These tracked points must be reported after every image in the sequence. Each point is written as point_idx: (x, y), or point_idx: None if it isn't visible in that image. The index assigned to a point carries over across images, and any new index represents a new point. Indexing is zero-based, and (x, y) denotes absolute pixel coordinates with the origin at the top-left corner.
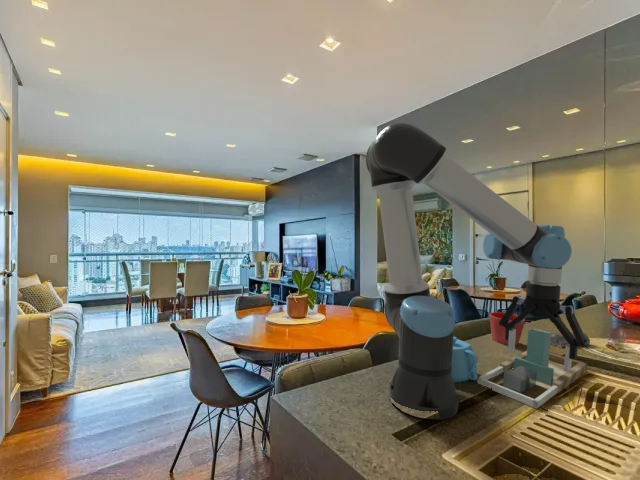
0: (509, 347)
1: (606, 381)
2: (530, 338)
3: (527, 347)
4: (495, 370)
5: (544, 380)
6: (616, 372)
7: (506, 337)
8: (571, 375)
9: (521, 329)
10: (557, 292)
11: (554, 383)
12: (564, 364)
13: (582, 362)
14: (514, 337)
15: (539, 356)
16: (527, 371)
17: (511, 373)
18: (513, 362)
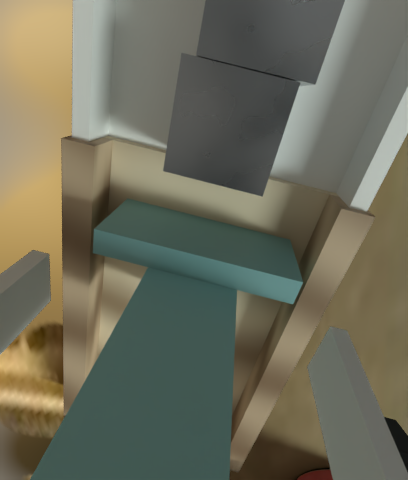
0: (349, 358)
1: (30, 370)
2: (206, 430)
3: (232, 352)
4: (402, 110)
5: (151, 209)
6: (35, 434)
7: (401, 439)
8: (63, 296)
9: None
10: None
11: (82, 142)
12: (23, 275)
13: None
14: (338, 457)
15: (156, 301)
16: (209, 126)
17: None
18: (299, 293)
